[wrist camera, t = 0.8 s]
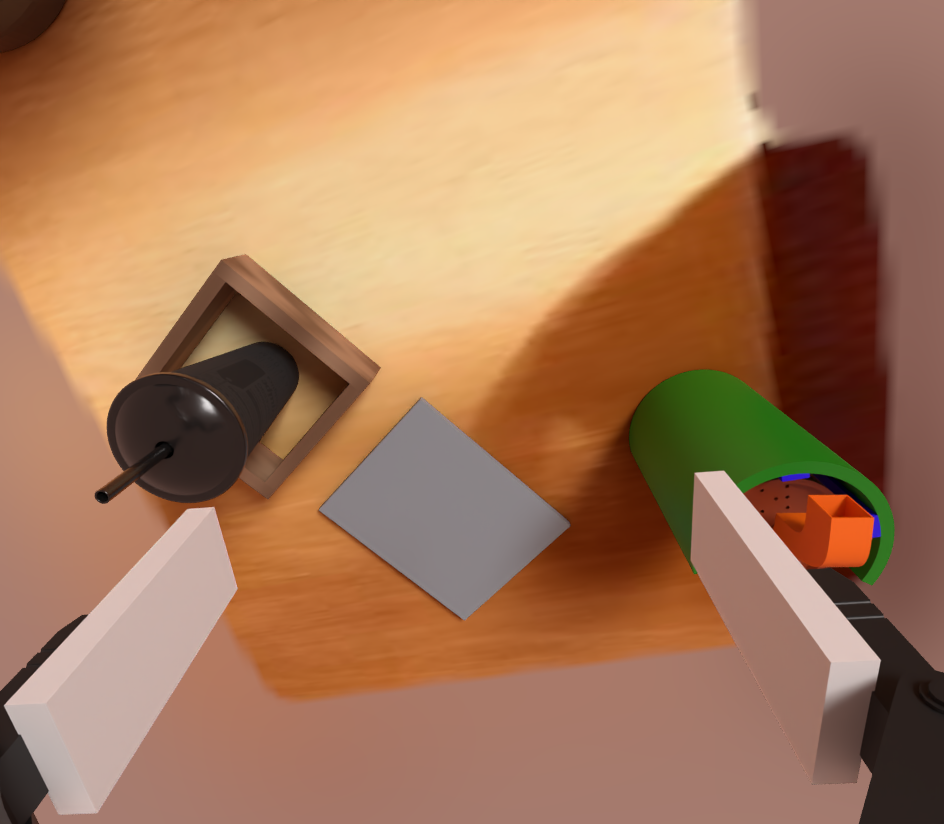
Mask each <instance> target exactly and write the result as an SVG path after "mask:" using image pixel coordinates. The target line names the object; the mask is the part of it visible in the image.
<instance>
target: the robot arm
mask: <svg viewBox="0 0 944 824" xmlns="http://www.w3.org/2000/svg"><path fill="white" fill-rule="evenodd" d="M64 2H65V0H0V52H5V51H9V50H13V49H15V48H18V47H21V46H23V45H25V44H27V43H29V42H30V41H32V40H33V39H35V38H36V37H37V36H39V35H40V34H41V33H42V32H43V31H44V30H46V29H47V28H48V26H49V25H50V24H51V23H52V22H53V20H54V19H55V18H56V16H57V15H58V13H59V12H60V10H61V8H62V6H63V4H64ZM691 562H692V564H693V566H694V568H695V569H696V571H697V573H698V575H699V577H700V579H701V581H702V582H703V584H704V586H705V588H706V590H707V592H708V594H709V595H710V597H711V599H712V601H713V603H714V605H715V606H716V608H717V610H718V612H719V614H720V616H721V618H722V619H723V621H724V623H725V625H726V627H727V629H728V631H729V632H730V634H731V636H732V638H733V640H734V642H735V644H736V645H737V647H738V649H739V651H740V653H741V654H742V657H743V658H744V660H745V662H746V664H747V666H748V668H749V669H750V671H751V673H752V675H753V677H754V679H755V681H756V682H757V684H758V686H759V688H760V690H761V692H762V694H763V695H764V697H765V699H766V701H767V703H768V705H769V707H770V708H771V710H772V712H773V714H774V716H775V718H776V719H777V721H778V723H779V725H780V727H781V729H782V731H783V732H784V734H785V736H786V738H787V740H788V741H789V744H790V745H791V747H792V749H793V751H794V753H795V755H796V757H797V758H798V760H799V762H800V764H801V766H802V768H803V770H804V771H805V773H806V775H807V777H808V778H809V780H810V782H811V784H812V785H813V784H814V785H815V784H840V783H857V778H858V773H859V768H860V763H861V758H862V759H863V761H864V762H865V764H866V765H867V767H868V768H869V770H870V772H871V773H872V778H871V781H870V785H869V789H868V792H867V796H866V800H865V803H864V807H863V810H862V814H861V818H860V822H859V824H944V673H943V672H939V671H936V670H934V669H933V668H932V667H931V666H930V664H928V662H927V661H926V660H925V659H924V658H923V657H922V656H921V655H920V654H919V652H918V651H917V650H916V649H915V648H914V647H913V646H912V645H911V644H910V643H909V642H908V641H907V640H906V638H905V637H904V636H903V635H902V634H901V633H900V632H899V631H898V630H897V629H896V628H895V626H893V624H892V623H891V622H890V621H889V620H888V619H887V618H884V616H883V614H882V612H881V611H880V610H879V609H878V608H877V607H876V606H875V605H874V604H871V603H870V599H868V597H867V596H866V595H865V594H864V593H863V592H862V591H861V590H860V589H859V587H858V586H857V585H856V584H855V583H854V582H852V581H851V580H849V579H847V578H846V577H844V576H842V575H841V574H839V573H838V572H836V571H834V570H833V569H831V568H820V569H805V568H804V567H803V566H802V564H801V563H800V562H799V561H798V559H797V558H796V557H795V556H794V555H793V553H792V552H791V551H790V550H789V549H788V547H787V546H786V545H785V544H784V543H783V541H782V540H781V539H780V538H779V537H778V535H777V534H776V533H775V532H774V530H773V529H772V528H771V527H770V526H769V524H768V523H767V522H766V521H765V520H764V518H763V517H762V516H761V515H760V514H759V512H758V511H757V510H756V509H755V508H754V506H753V505H752V504H751V503H750V501H749V500H748V499H747V498H746V497H745V495H744V494H743V493H742V492H741V491H740V489H739V488H738V487H737V486H736V485H735V483H734V482H733V481H732V480H731V479H730V477H729V476H728V475H727V474H726V472H725V471H713V472H699V473H694V495H693V517H692V539H691ZM237 589H238V588H237V585H236V581H235V578H234V574H233V571H232V567H231V564H230V560H229V557H228V553H227V550H226V546H225V543H224V539H223V536H222V532H221V529H220V525H219V522H218V518H217V515H216V512H215V508H214V507H207V508H193V509H187V510H186V511H185V512H184V513H183V514H182V515H181V516H180V517H179V519H178V520H177V521H176V522H175V523H174V524H173V525H172V526H171V527H170V528H169V529H168V530H167V531H166V532H165V534H164V535H163V536H162V537H161V538H160V539H159V540H158V541H157V542H156V543H155V544H154V545H153V546H152V548H151V549H150V550H149V551H148V552H147V553H146V554H145V555H144V556H143V557H142V558H141V559H140V560H139V561H138V562H137V563H136V565H135V566H134V567H133V568H132V569H131V570H130V571H129V572H128V573H127V574H126V575H125V576H124V577H123V579H122V580H121V581H120V582H119V583H118V584H117V585H116V586H115V587H114V588H113V589H112V590H111V591H110V592H109V594H108V595H107V596H106V597H105V598H104V599H103V600H102V601H101V602H100V603H99V604H98V605H97V606H96V608H95V609H94V610H93V611H92V612H91V613H90V614H89V615H82V616H80V617H78V618H77V619H76V620H74V621H73V622H71V623H70V624H68V625H67V626H65V627H64V628H62V629H61V630H60V631H58V632H57V633H56V634H55V635H54V636H53V637H52V638H51V640H50V641H48V643H47V644H46V645H45V646H44V647H43V648H42V649H41V652H40V653H37V654H36V655H35V656H34V657H33V658H32V659H31V660H30V661H29V662H28V663H27V666H26V668H22V669H21V670H20V672H18V674H17V675H16V676H15V677H14V678H13V679H12V680H11V681H10V682H9V683H8V684H7V685H6V686H5V687H4V688H3V689H2V690H1V691H0V824H39V823H38V821H37V819H36V817H35V815H34V813H33V812H34V811H35V809H36V808H37V807H38V805H39V804H40V802H41V801H42V800H43V798H44V797H45V796H46V794H47V793H48V795H49V796H50V798H51V800H52V802H53V804H54V806H55V808H56V810H57V812H58V814H59V815H64V814H89V813H98V811H99V809H100V808H101V806H102V805H103V803H104V802H105V800H106V798H107V797H108V795H109V794H110V792H111V790H112V789H113V787H114V786H115V784H116V782H117V781H118V779H119V778H120V776H121V774H122V773H123V771H124V769H125V768H126V766H127V765H128V763H129V762H130V760H131V758H132V757H133V755H134V754H135V752H136V750H137V749H138V747H139V746H140V744H141V742H142V741H143V739H144V737H145V736H146V734H147V733H148V731H149V730H150V728H151V726H152V725H153V723H154V722H155V720H156V718H157V717H158V715H159V714H160V712H161V710H162V708H163V707H164V706H165V704H166V702H167V701H168V699H169V697H170V696H171V694H172V692H173V691H174V690H175V688H176V686H177V685H178V683H179V682H180V680H181V678H182V677H183V675H184V673H185V672H186V670H187V669H188V667H189V665H190V664H191V662H192V661H193V659H194V658H195V656H196V654H197V653H198V651H199V649H200V648H201V646H202V645H203V643H204V642H205V640H206V638H207V637H208V635H209V634H210V632H211V630H212V629H213V627H214V626H215V624H216V622H217V621H218V619H219V618H220V616H221V614H222V613H223V611H224V610H225V608H226V606H227V605H228V603H229V602H230V600H231V598H232V597H233V595H234V594H235V592H236V590H237Z"/></svg>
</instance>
